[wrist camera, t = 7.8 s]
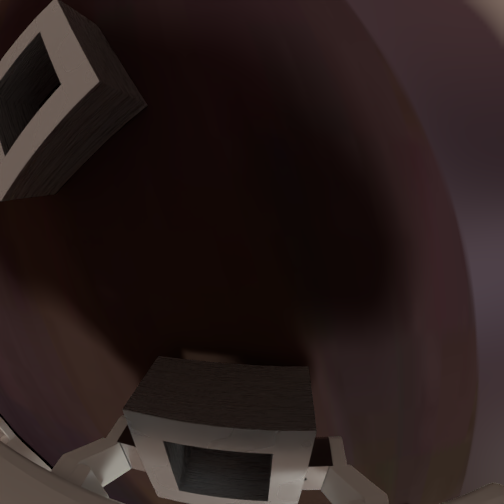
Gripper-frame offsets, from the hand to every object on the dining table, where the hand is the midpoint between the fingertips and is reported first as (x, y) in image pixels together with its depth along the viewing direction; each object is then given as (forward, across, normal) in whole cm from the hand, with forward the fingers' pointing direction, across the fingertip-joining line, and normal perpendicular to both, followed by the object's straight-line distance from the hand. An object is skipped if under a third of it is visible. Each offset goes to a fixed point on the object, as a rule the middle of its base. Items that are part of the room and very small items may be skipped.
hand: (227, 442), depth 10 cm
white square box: (+3, -8, +14) cm, 16 cm away
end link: (+2, 0, 0) cm, 2 cm away
